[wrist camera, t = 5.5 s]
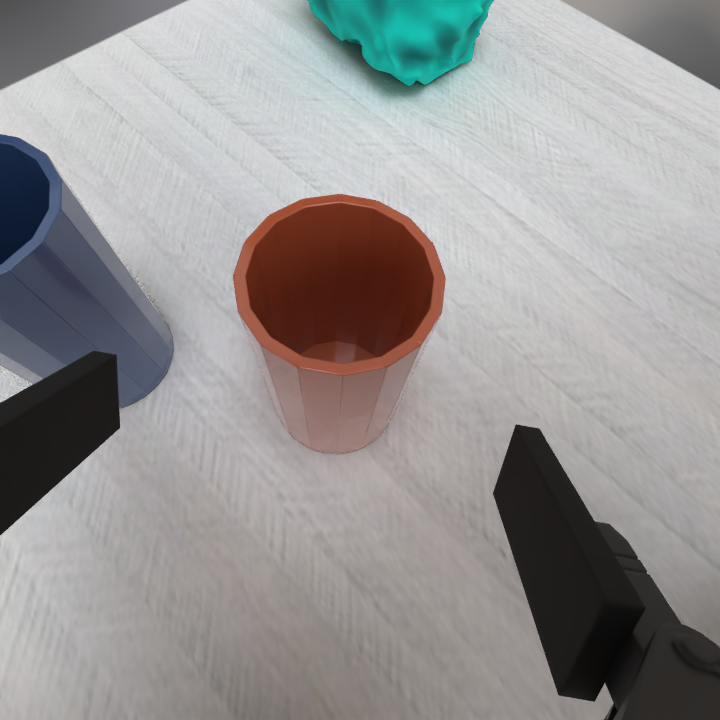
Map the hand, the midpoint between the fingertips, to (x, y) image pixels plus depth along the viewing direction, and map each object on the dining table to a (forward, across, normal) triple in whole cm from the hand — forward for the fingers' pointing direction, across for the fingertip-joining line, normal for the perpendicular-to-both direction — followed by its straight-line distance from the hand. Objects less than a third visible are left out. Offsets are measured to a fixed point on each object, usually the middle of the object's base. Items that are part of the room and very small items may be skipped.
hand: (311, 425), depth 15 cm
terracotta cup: (+10, 0, -4) cm, 11 cm away
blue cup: (+10, -13, -4) cm, 17 cm away
